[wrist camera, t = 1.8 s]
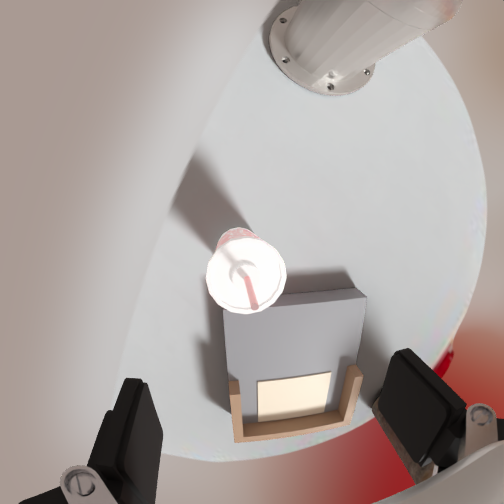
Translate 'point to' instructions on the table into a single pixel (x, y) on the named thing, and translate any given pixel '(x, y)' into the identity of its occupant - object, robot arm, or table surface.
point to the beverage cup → (245, 272)
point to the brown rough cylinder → (403, 450)
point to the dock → (294, 364)
